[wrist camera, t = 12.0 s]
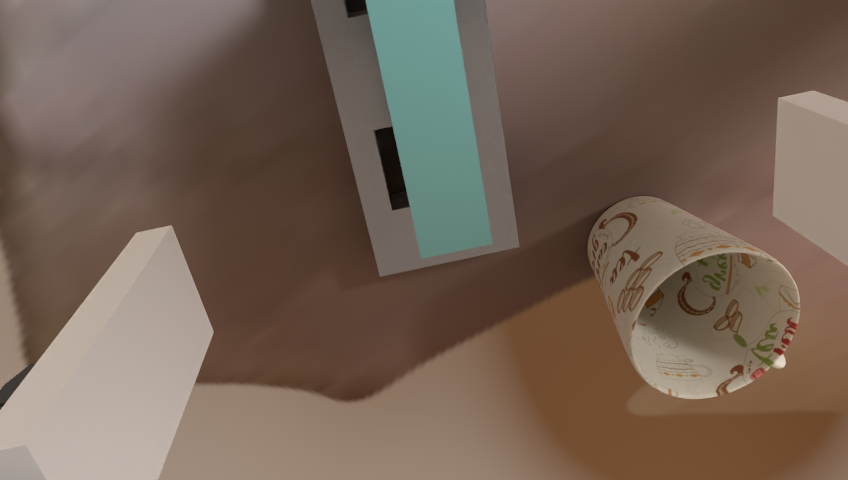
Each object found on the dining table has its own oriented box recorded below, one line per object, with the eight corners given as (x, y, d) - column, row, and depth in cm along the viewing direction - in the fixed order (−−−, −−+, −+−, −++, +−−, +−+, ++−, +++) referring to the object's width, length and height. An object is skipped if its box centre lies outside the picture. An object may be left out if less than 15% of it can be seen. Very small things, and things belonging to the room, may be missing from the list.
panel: (352, -67, 31) (350, -70, 22) (413, -80, 31) (439, -89, 22) (403, 172, 37) (421, 259, 27) (455, 161, 37) (492, 243, 27)
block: (272, -170, 29) (265, -179, 27) (446, -206, 29) (453, -219, 27) (378, 257, 39) (379, 276, 37) (510, 229, 39) (519, 247, 37)
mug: (626, 151, 37) (711, 218, 28) (775, 249, 41) (893, 336, 32) (541, 263, 40) (594, 358, 31) (689, 346, 44) (775, 452, 35)
